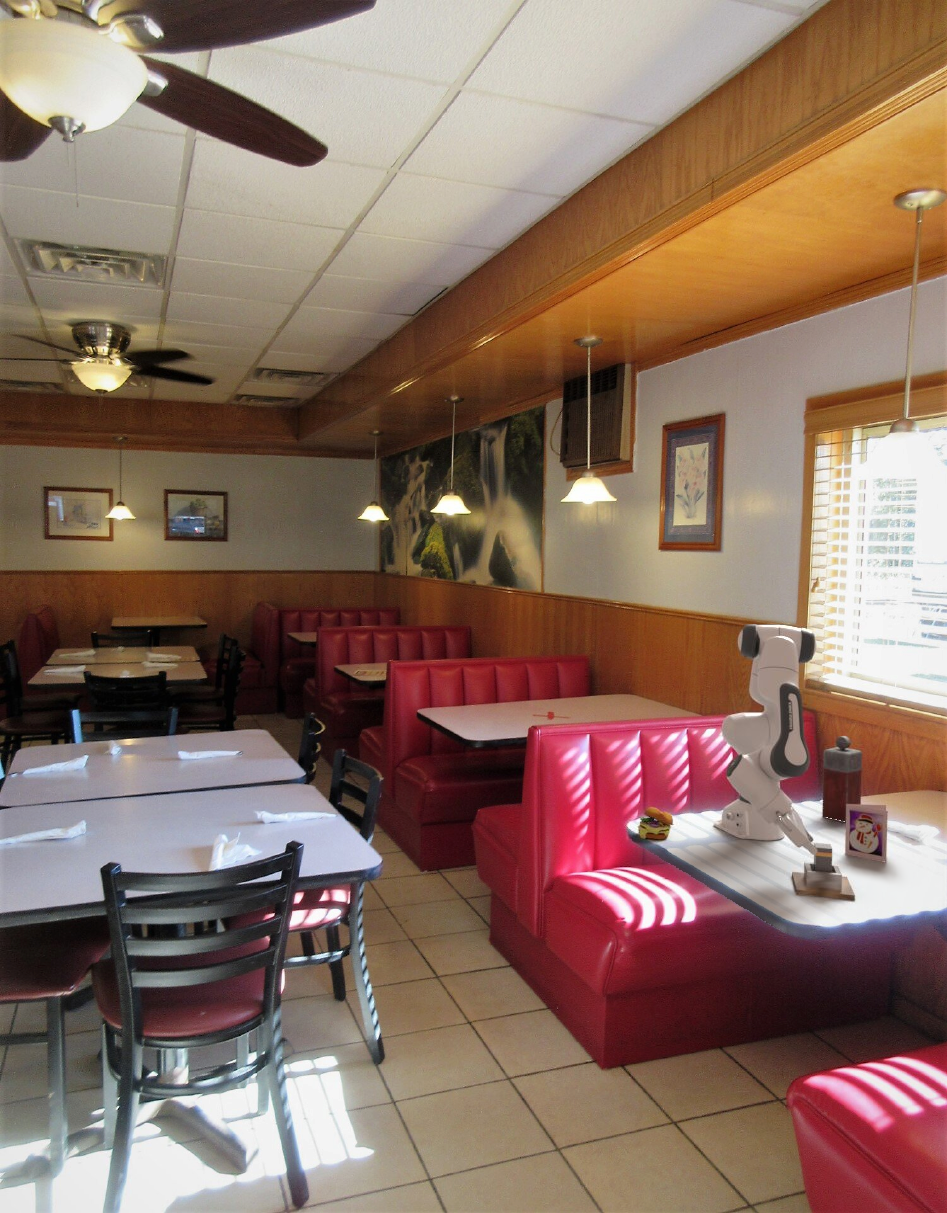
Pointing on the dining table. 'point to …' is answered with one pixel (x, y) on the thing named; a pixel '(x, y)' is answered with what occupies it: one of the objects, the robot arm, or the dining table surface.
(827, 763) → the pepper mill
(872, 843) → the greeting card
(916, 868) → the dining table surface
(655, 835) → the cheeseburger
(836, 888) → the holder
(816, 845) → the block
